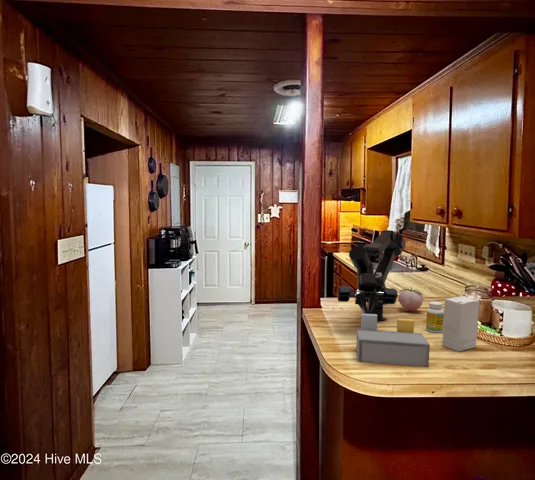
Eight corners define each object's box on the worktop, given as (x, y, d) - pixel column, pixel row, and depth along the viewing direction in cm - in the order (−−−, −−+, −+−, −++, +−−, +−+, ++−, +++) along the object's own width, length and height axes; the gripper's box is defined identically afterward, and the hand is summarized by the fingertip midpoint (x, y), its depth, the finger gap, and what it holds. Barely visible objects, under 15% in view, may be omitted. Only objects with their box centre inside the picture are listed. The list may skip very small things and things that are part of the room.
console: (356, 349, 113) (357, 329, 113) (420, 353, 110) (421, 333, 110) (358, 361, 104) (359, 340, 104) (428, 366, 102) (429, 344, 101)
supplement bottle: (431, 327, 135) (433, 300, 134) (446, 331, 131) (447, 303, 130) (422, 329, 132) (423, 302, 131) (436, 334, 128) (438, 305, 127)
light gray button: (360, 338, 119) (361, 313, 118) (375, 339, 119) (376, 314, 118) (363, 350, 110) (364, 322, 109) (379, 351, 109) (380, 323, 108)
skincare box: (459, 341, 121) (462, 295, 119) (477, 348, 115) (480, 299, 114) (440, 345, 117) (443, 297, 116) (458, 352, 112) (461, 302, 110)
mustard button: (396, 344, 114) (397, 318, 114) (411, 345, 114) (413, 319, 113) (402, 357, 105) (403, 328, 104) (419, 358, 104) (420, 329, 104)
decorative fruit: (424, 310, 156) (425, 286, 155) (420, 315, 149) (421, 290, 148) (400, 307, 161) (401, 283, 160) (395, 311, 154) (396, 287, 153)
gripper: (339, 262, 127) (339, 303, 117) (397, 264, 124) (402, 306, 115) (337, 281, 136) (337, 320, 126) (392, 283, 133) (396, 324, 123)
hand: (367, 317), depth 122 cm, fingers closed
